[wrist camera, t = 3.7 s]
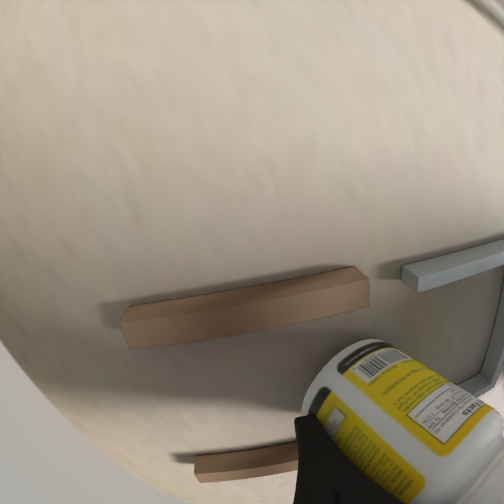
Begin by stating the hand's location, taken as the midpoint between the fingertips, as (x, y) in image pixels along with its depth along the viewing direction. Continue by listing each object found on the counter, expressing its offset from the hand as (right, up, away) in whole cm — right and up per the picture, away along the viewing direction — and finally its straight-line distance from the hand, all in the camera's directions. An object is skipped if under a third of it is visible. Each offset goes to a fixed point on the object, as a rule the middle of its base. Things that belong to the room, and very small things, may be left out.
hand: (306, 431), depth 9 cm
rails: (-2, 0, +2) cm, 3 cm away
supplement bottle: (+2, +1, +2) cm, 3 cm away
